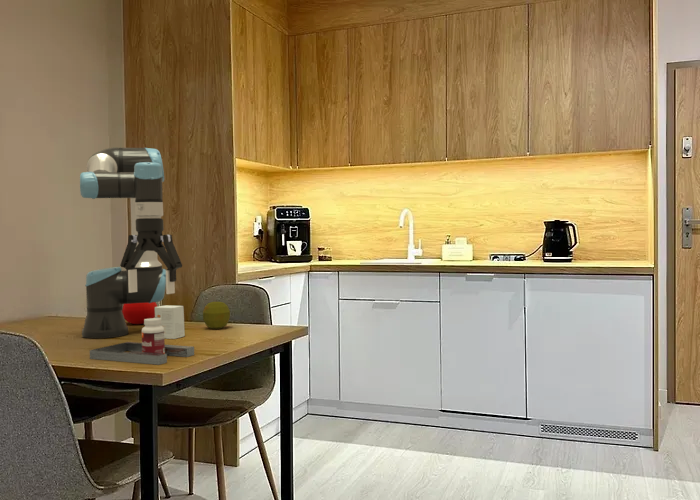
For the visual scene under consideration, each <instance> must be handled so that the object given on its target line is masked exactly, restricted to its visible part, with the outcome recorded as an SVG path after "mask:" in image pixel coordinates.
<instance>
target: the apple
mask: <svg viewBox="0 0 700 500" xmlns="http://www.w3.org/2000/svg"><path fill="white" fill-rule="evenodd" d="M230 317H231V310H230V308H229V306H228V305H227V304H226V302H223V301H211V302H208V303H207V304H206V305H205V306H204V308H203V311H202V318H203V319H202V320H203V322H204V324H205V326H206V327H208V328H209V329H211V330H221V329H223V328H224V327H226V326H227V325H228V323H229V320H230V319H231V318H230Z"/></svg>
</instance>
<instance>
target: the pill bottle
mask: <svg viewBox="0 0 700 500" xmlns="http://www.w3.org/2000/svg"><path fill="white" fill-rule="evenodd" d="M160 324H161V318H155V317H154V318H149V319H144V323H143V325H144V327H141V343H142V352H150V353H163V354H165V345H166V344H165V338H164V328H163V327H162V326H161V325H160Z"/></svg>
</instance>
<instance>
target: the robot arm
mask: <svg viewBox="0 0 700 500" xmlns="http://www.w3.org/2000/svg"><path fill="white" fill-rule="evenodd" d="M164 182H165V171H164V164H163V159H162V155H161V152H160V150H158V149H157V148H148V147H109V148H105V149H101V150H99V151H97V152H95V153H93V154H92V155H91V156H90V157H89V158H88V159H87V163H86V171H85V172H84V171H83V172H80V175H79V188H80V189H79V193H80V196H81V197H82V198H84V199H92V200H95V199H130V227H131V229H130V230H131V231H130V232H131V234H129V235H128V240H127V245H126V247H125V251H124V253H123V256H122V259H121V262H120V266H114V267H105V268H99V269H95V270H91V271H89V272H87V274H86V276H85V277H86V278H85V287H86V288H85V291H86V315H85V320H84V325H83V328H82V329H81V336H82V338H86V339H108V338H117V337H122V336H123V337H124V336H127V335H129V326H128V325H127V323H126V322H127V321H126V320H125V318H124V315H123V312H122V309H123V305H124V304H131V303H151V302H156V303H159V302H161V301H162V300H164V297H165V294H166V295H173V294H175V293H176V289H175V288H176V285H175V282H176V281H177V270H178V269H180V268H182V267H183V263H182V261H181V259H180V256H179V254H178V252H177V250H176V247H175V244H174V242H173V235H172V234H164V235H163V231H164V230H165V229H164V227H165V225H164V219H163V218H162V217H163V216H164V202H163V183H164ZM158 257H159V258H160V260H161V261H162V263H163V264H164V265H165V267H166V269H165V268H163V264H162V263H161V262H160V261H159V259H158ZM122 268H124V269H125V270H123V269H122Z"/></svg>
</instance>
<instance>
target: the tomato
mask: <svg viewBox="0 0 700 500" xmlns="http://www.w3.org/2000/svg"><path fill="white" fill-rule="evenodd" d="M155 307H158V305H157V302H151V303H131V304H122V312H123V315H124V318H125V322H127V323H129V324H131V325H142V324H143V325H144V319H149V318H155Z"/></svg>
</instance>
